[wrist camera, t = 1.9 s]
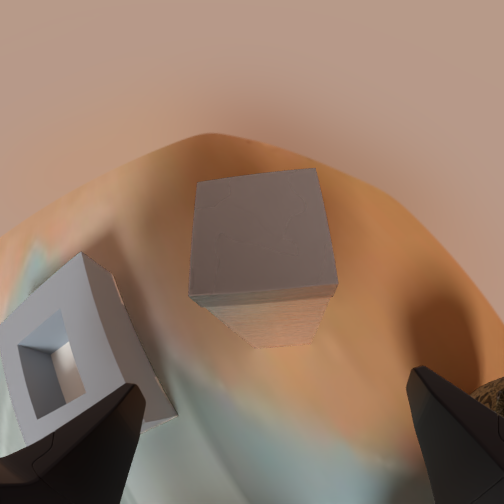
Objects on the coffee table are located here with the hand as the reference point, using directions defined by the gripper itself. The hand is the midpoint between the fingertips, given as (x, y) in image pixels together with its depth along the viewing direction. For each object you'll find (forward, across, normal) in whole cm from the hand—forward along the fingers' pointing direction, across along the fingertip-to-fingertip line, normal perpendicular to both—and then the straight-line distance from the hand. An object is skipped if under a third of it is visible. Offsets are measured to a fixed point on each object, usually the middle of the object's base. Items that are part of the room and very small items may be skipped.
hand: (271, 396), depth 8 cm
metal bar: (+11, 0, +4) cm, 12 cm away
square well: (+8, +18, +8) cm, 21 cm away
